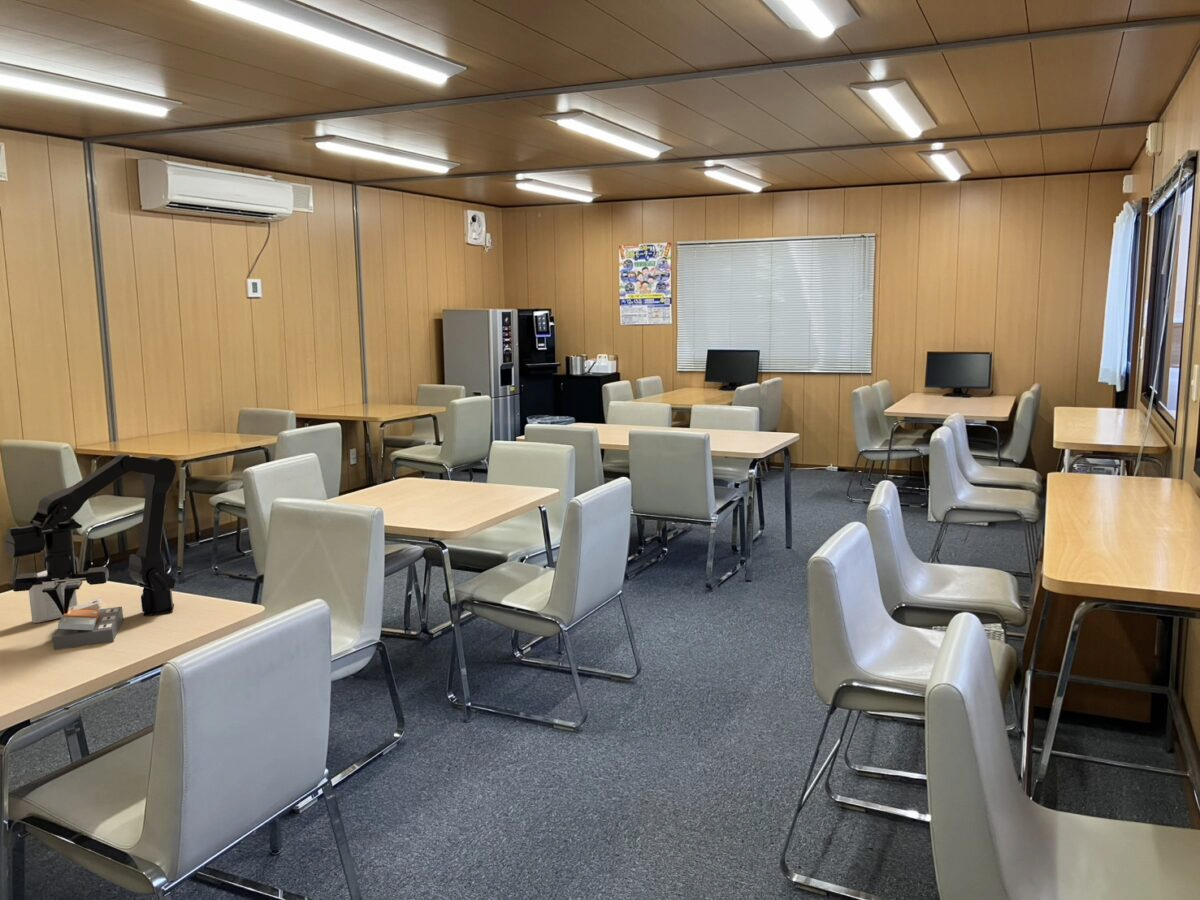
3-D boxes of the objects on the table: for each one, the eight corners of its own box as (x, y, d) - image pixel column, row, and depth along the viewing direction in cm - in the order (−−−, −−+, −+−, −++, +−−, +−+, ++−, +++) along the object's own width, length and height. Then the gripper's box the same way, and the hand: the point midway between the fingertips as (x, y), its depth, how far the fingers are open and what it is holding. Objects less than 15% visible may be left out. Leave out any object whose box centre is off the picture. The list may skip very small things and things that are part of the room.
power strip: (123, 617, 224) (121, 604, 224) (113, 641, 208) (111, 626, 207) (68, 625, 220) (66, 611, 219) (53, 650, 203) (52, 634, 203)
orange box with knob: (99, 615, 216) (99, 609, 216) (96, 621, 212) (97, 615, 212) (66, 615, 213) (66, 609, 213) (62, 621, 209) (62, 614, 209)
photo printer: (76, 610, 231) (70, 564, 229) (81, 614, 228) (75, 567, 226) (30, 621, 224) (24, 573, 222) (34, 625, 221) (28, 576, 219)
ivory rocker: (102, 603, 221) (100, 597, 221) (99, 608, 217) (97, 603, 217) (71, 612, 219) (69, 607, 219) (67, 618, 215) (65, 613, 215)
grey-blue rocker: (95, 624, 211) (96, 618, 211) (92, 630, 206) (93, 624, 206) (61, 622, 208) (62, 616, 208) (57, 628, 204) (58, 622, 204)
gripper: (109, 538, 220) (114, 600, 222) (20, 545, 213) (26, 608, 215) (102, 549, 210) (107, 613, 212) (9, 556, 203) (15, 623, 205)
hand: (65, 614), depth 211 cm, fingers closed, pressing on orange box with knob
